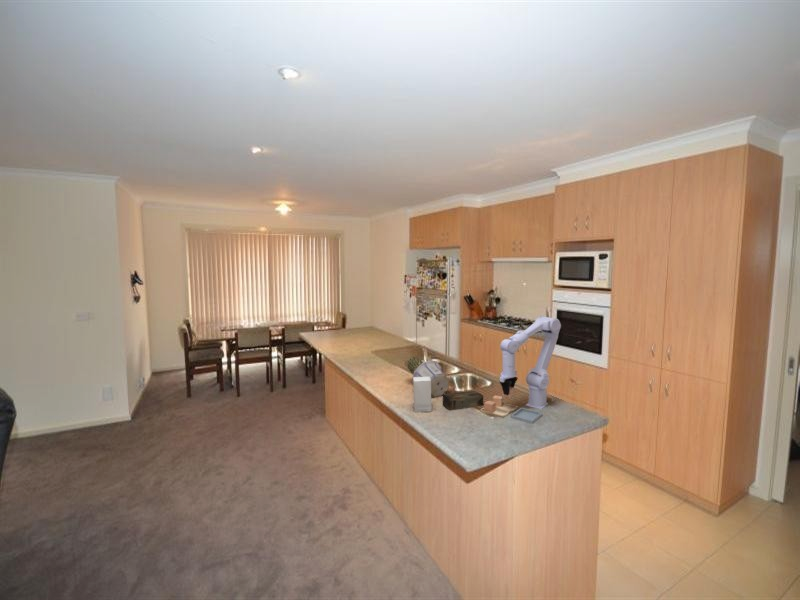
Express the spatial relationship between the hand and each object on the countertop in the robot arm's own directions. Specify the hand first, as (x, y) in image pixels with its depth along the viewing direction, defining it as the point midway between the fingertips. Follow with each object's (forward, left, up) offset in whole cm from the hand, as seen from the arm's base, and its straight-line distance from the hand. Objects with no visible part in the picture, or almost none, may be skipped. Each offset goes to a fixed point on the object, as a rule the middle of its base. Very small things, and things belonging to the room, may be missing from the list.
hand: (508, 393), depth 183 cm
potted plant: (0, -48, -9) cm, 49 cm away
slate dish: (+1, +10, -9) cm, 13 cm away
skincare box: (+24, -32, -9) cm, 41 cm away
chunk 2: (-3, -7, -8) cm, 11 cm away
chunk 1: (+6, -6, -8) cm, 12 cm away
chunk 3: (0, 0, -1) cm, 1 cm away
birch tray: (+1, -4, -9) cm, 10 cm away
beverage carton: (+8, -20, -9) cm, 23 cm away
